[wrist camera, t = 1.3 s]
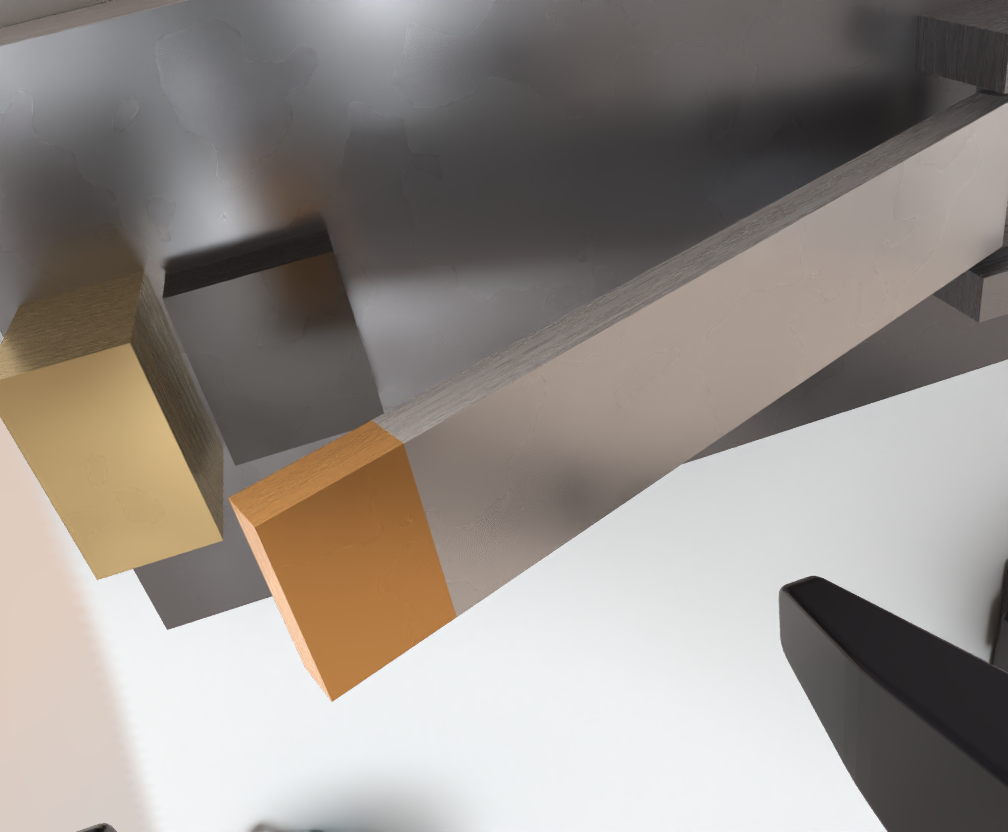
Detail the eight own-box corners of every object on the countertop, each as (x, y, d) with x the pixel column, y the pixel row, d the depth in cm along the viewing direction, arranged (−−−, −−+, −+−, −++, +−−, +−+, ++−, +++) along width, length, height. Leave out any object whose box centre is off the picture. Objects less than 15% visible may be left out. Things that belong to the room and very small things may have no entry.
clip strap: (998, 74, 18) (1061, 79, 17) (983, 217, 20) (1040, 229, 19) (222, 491, 11) (262, 536, 10) (299, 659, 13) (339, 710, 12)
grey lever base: (1010, -216, 19) (1292, -246, 14) (960, 301, 25) (1140, 407, 20) (-84, 48, 16) (-221, 126, 11) (173, 546, 23) (159, 736, 18)
